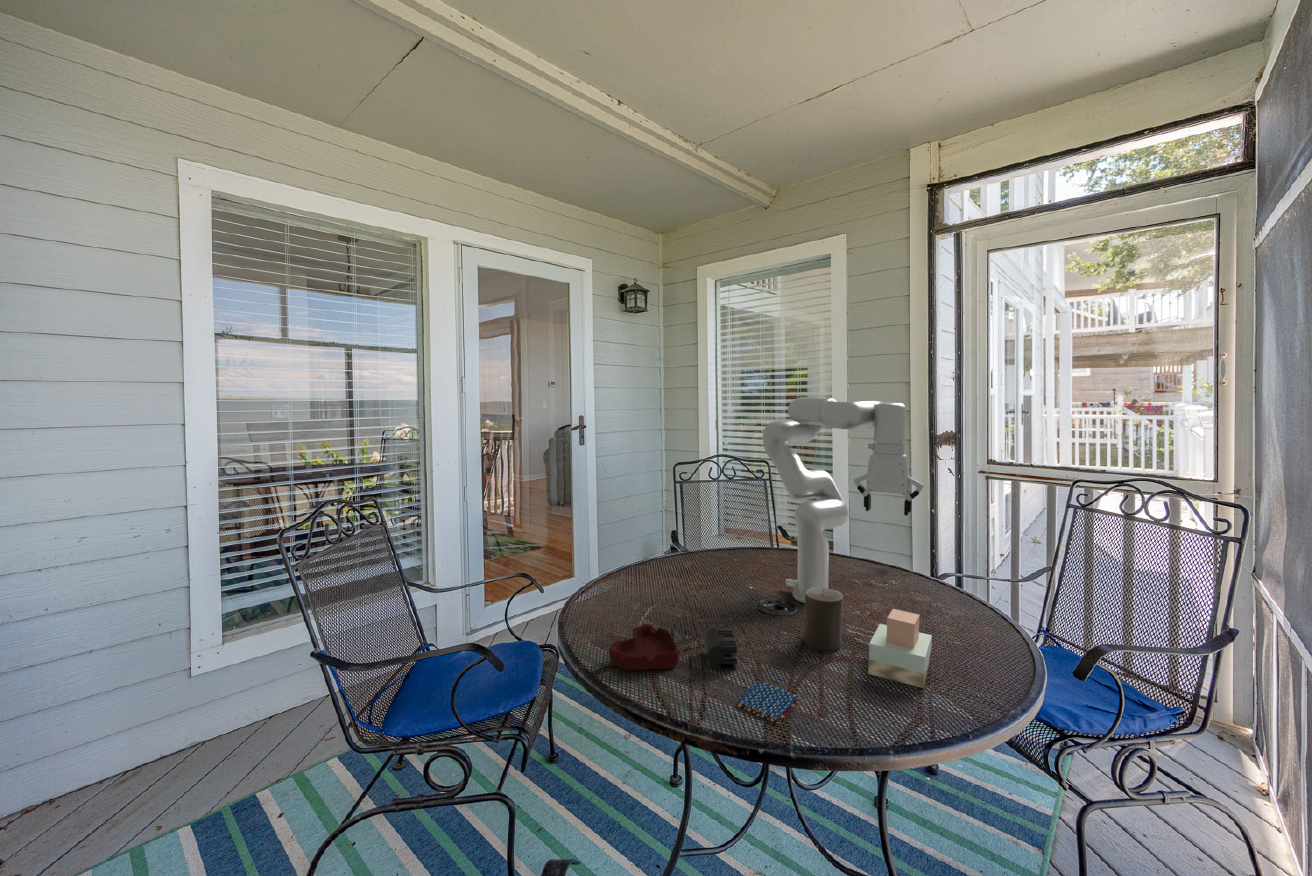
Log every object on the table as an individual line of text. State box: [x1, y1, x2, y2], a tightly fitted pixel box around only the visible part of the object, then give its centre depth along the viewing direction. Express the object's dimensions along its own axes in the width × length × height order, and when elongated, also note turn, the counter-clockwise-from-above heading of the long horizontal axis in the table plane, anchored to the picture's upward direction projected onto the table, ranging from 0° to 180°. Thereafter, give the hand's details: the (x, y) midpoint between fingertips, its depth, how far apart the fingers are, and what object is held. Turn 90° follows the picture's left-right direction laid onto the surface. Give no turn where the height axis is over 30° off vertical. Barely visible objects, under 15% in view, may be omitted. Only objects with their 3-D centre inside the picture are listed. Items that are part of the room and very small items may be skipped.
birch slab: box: [867, 658, 930, 689], centre depth 131 cm, size 12×12×4 cm
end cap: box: [704, 626, 738, 671], centre depth 136 cm, size 10×7×7 cm
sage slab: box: [868, 623, 933, 674], centre depth 130 cm, size 12×12×4 cm
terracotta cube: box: [886, 608, 920, 649], centre depth 129 cm, size 6×6×6 cm
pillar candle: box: [803, 587, 844, 653], centre depth 143 cm, size 10×10×15 cm
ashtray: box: [608, 623, 679, 671], centre depth 137 cm, size 18×16×5 cm
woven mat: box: [736, 681, 800, 725], centre depth 118 cm, size 10×11×2 cm
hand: (886, 512), depth 144 cm, fingers open, 9 cm apart
